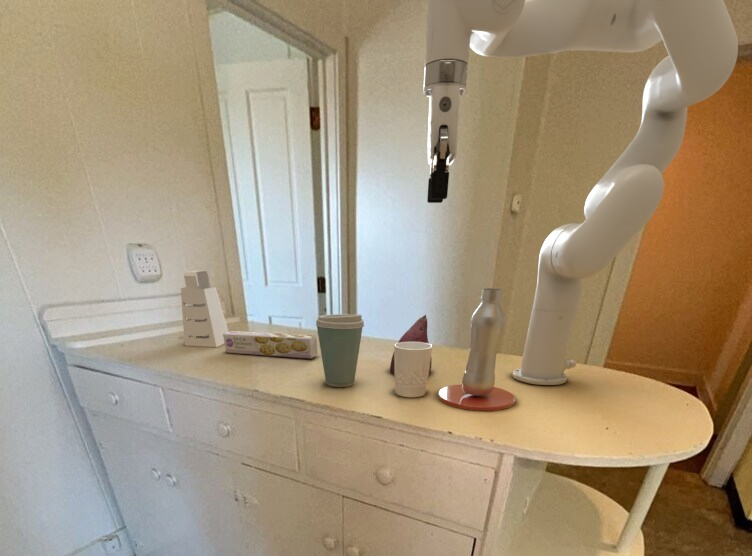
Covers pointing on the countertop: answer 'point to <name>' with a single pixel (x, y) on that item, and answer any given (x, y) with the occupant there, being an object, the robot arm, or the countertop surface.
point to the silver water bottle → (484, 344)
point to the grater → (202, 312)
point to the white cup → (411, 368)
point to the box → (271, 344)
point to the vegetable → (414, 337)
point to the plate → (476, 399)
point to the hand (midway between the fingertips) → (436, 200)
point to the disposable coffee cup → (340, 347)
